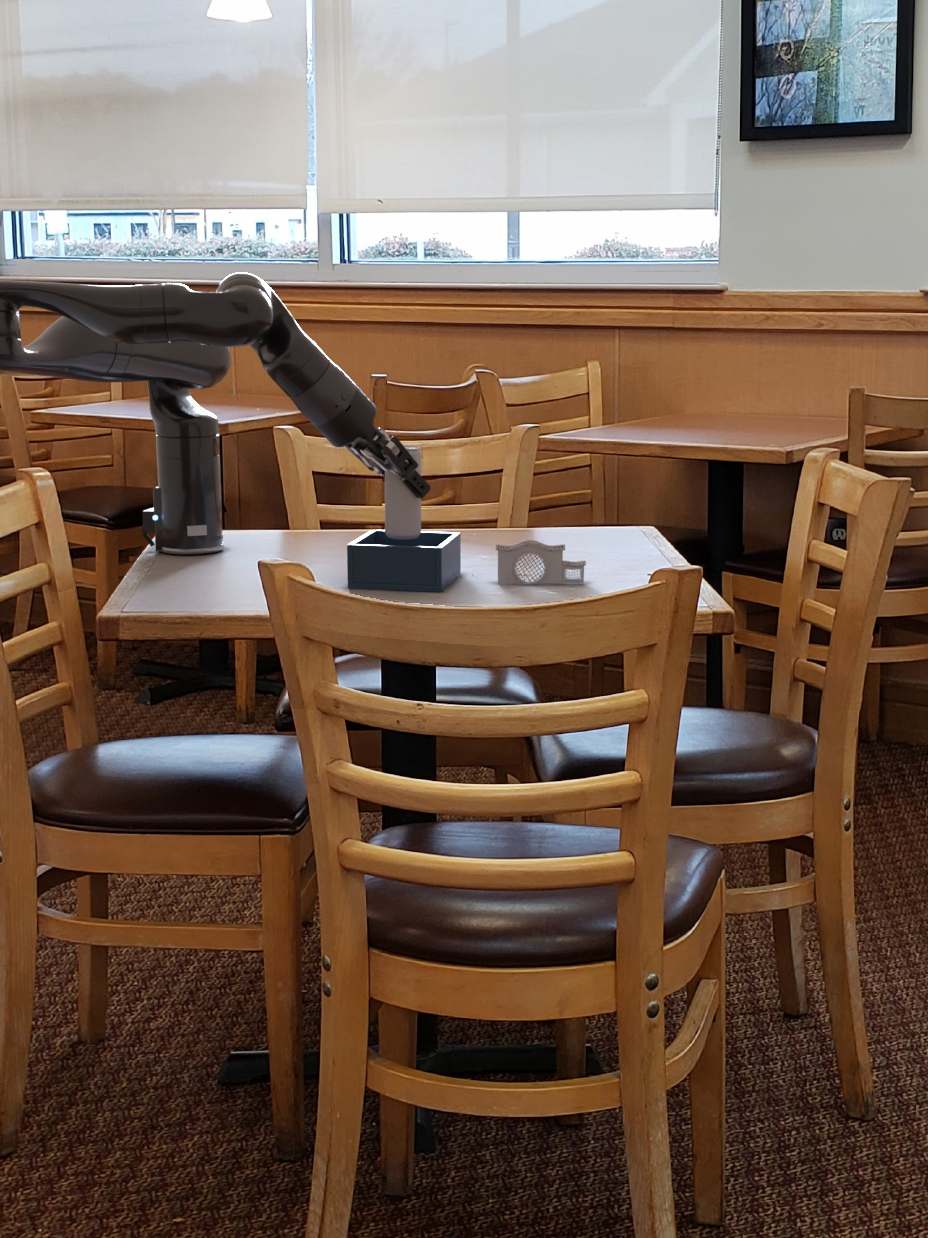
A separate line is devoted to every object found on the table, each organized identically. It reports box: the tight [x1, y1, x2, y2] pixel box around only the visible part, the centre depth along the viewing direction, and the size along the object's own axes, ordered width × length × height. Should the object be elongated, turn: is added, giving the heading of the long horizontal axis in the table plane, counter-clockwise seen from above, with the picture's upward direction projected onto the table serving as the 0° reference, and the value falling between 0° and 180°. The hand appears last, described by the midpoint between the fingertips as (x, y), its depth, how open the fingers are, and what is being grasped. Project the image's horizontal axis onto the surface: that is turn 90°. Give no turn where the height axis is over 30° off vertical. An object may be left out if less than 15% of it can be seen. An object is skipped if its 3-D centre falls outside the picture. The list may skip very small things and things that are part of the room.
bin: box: [346, 529, 462, 593], centre depth 196 cm, size 13×13×6 cm
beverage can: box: [384, 445, 422, 540], centre depth 194 cm, size 5×5×12 cm
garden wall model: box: [495, 539, 587, 586], centre depth 195 cm, size 12×2×6 cm, turn 90°
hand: (415, 490), depth 195 cm, fingers closed on beverage can, 5 cm apart
